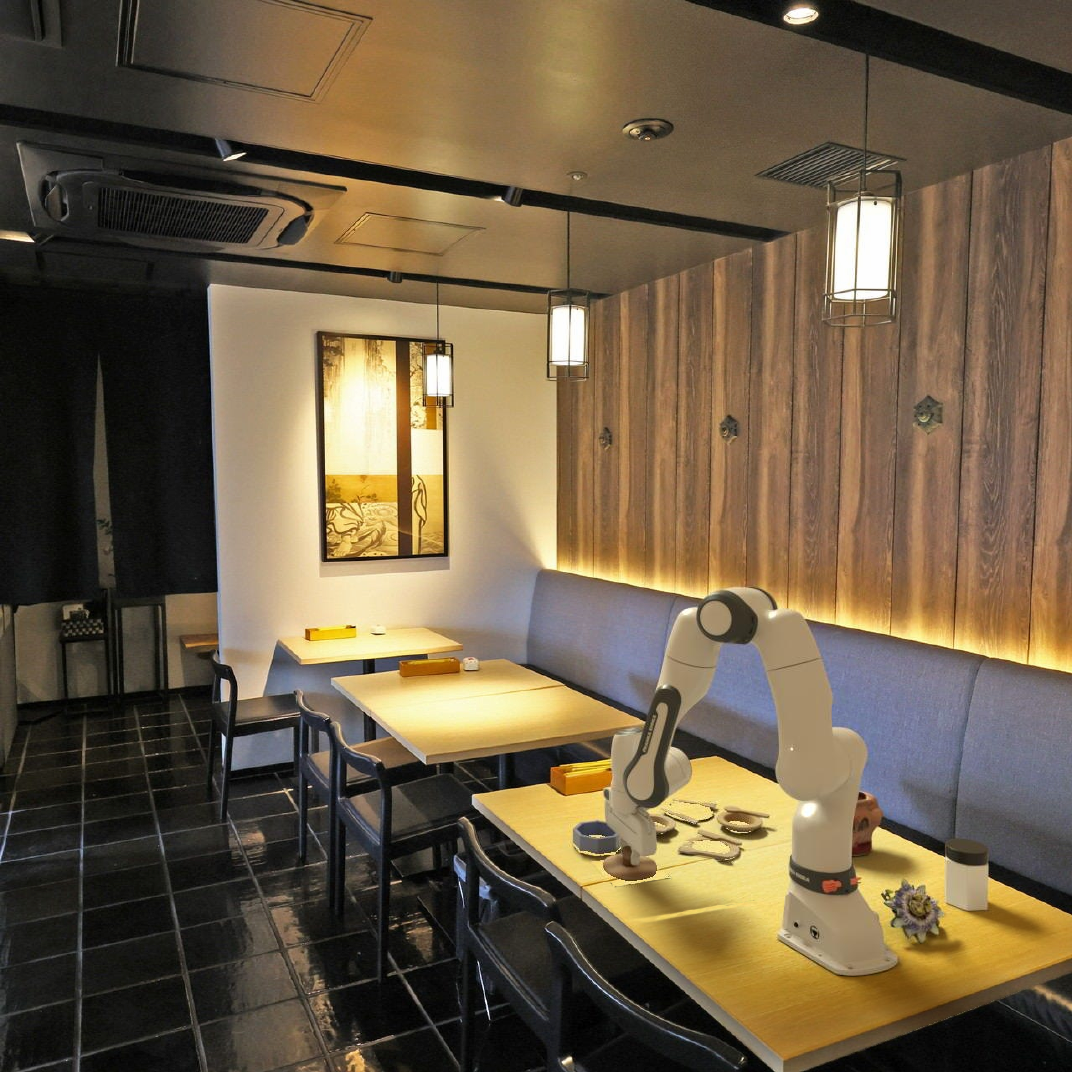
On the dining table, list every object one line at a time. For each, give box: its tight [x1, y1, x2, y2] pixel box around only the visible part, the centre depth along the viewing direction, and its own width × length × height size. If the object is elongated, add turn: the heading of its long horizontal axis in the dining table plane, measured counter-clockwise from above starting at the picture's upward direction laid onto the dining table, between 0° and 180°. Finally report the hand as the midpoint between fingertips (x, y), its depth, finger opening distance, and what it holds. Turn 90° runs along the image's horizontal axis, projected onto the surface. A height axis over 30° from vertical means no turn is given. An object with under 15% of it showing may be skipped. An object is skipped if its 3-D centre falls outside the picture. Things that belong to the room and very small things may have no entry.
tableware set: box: [649, 798, 771, 861], centre depth 217 cm, size 35×29×4 cm
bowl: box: [572, 819, 621, 854], centre depth 205 cm, size 11×11×5 cm
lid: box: [603, 845, 658, 881], centre depth 192 cm, size 12×12×5 cm
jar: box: [944, 838, 990, 912], centre depth 179 cm, size 9×8×12 cm
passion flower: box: [880, 877, 946, 944], centre depth 167 cm, size 11×11×12 cm
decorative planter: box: [852, 790, 884, 857], centre depth 205 cm, size 20×12×14 cm, turn 109°
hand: (630, 859), depth 192 cm, fingers closed on lid, 3 cm apart
